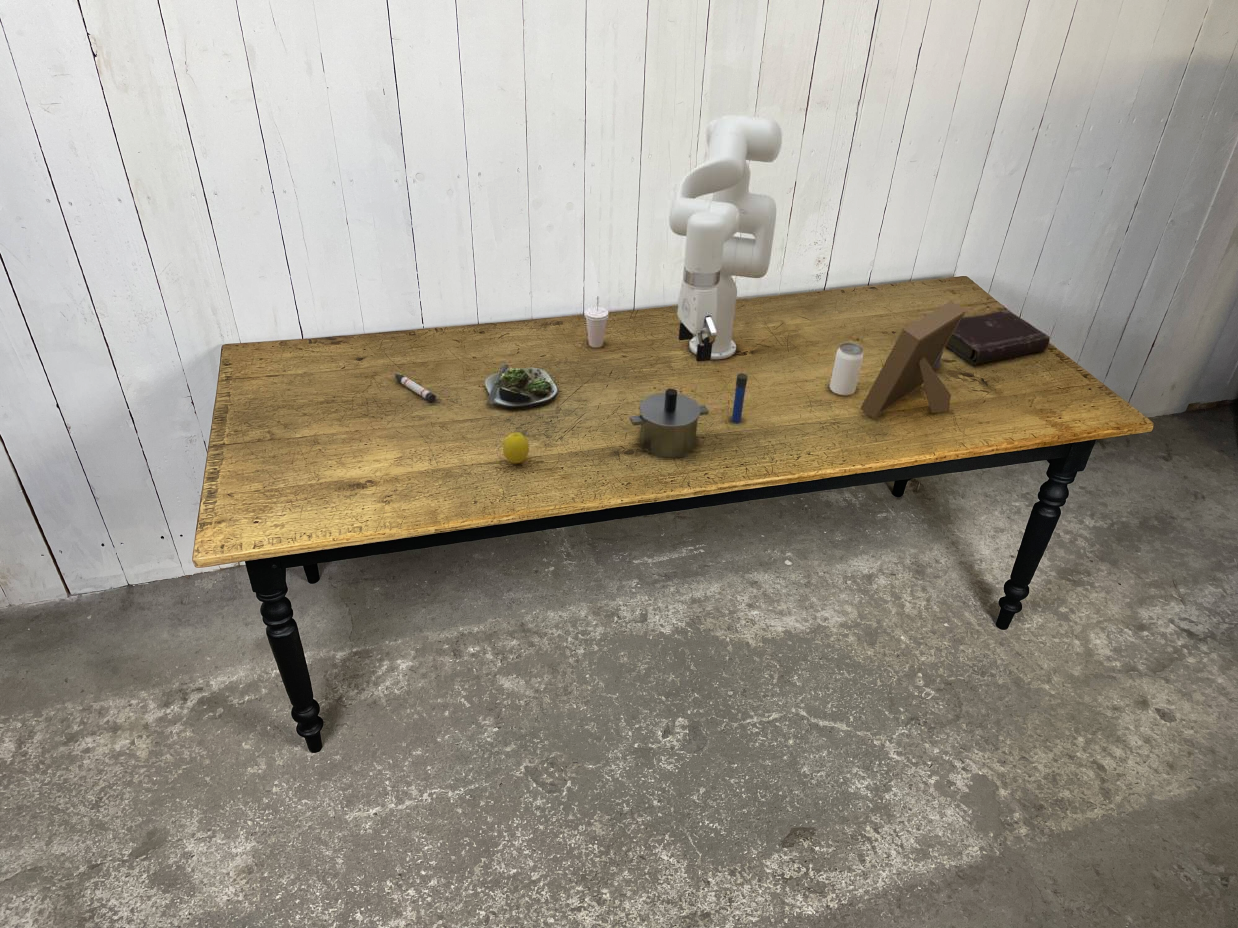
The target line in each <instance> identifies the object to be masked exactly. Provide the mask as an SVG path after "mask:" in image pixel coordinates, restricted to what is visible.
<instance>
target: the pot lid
mask: <svg viewBox="0 0 1238 928" xmlns="http://www.w3.org/2000/svg"><path fill="white" fill-rule="evenodd" d="M699 406H700V404H699V403H698V402H697V401H696V400H695V399H693V398H691V397H689V396H687V395H684V394H682V393H678V390H677V389H675V388H666V390H665V392H657V393H654V394H650V395H648V396H647V397H645V398H644V399H643V400H642V401H641V402H640V404H639V414H640V415H642V417H643V418H644V419H645V420H646V421H648V422H650V423H652V424H654V425H657V426H660V427H666V428H680V427H685V426H688V425H691V424H693V423H694V422H696V421H697V420H699V418H700V407H699ZM697 422H698V421H697Z"/></svg>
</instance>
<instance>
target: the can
mask: <svg viewBox="0 0 1238 928" xmlns="http://www.w3.org/2000/svg"><path fill="white" fill-rule="evenodd" d="M863 351H864V349H863V347H862V346H861V345H859V344H858V343H854V342H843V343H841V344H840V345H839V347H838V349H837V351H836V354H835V359H834V364H833V368H832V373H831V377H830V378H831V379H830V383H829V389H830V391H831V392H832V393H833V394H835V395H838V396H842V397H849V396H851V395H854V393H855V392H856V390H857V385H858V382H859V378H860V374H861V368H862V365H863V360H864V352H863Z"/></svg>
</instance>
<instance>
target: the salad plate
mask: <svg viewBox="0 0 1238 928" xmlns="http://www.w3.org/2000/svg"><path fill="white" fill-rule="evenodd" d="M484 384H485V388H486V390H487V392H488V396H487V399H486V400H487V401H486V402H487V403H488V404H490V405H496V406H498V407H500V408H502V409H504V410H509V411H520V410H529V409H536V408H540V407H542V406H546V405H548V404H550V403H551V402H552V401H553V400H554V399H555V398H556V397H557V395H558V387H557V385H556V384H555V382H554V381H553V379H552V378H551V376H550V375H549V373H548V372H547V371H545V370H544V369H541V368H537V367H525V368H513V367H512V366H511V367H510V366H509V364H507V363H504V364H502V365H501V366H500V370H499V371H498V372H497V373H494V374H491V375H489V376H488V378H486V379H485V382H484Z"/></svg>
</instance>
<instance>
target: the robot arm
mask: <svg viewBox="0 0 1238 928" xmlns="http://www.w3.org/2000/svg"><path fill="white" fill-rule="evenodd" d="M705 138H706V145H707V151H706V155H705V159H704V162H703V163H701V164H698V166H696V167H694V168H693V169H691V170H690V171H688V173H686V175H684V176H683V177H682V178H681V180H679V182H678V184H677V186H676V189H675V191H674V194H673V198H672V202H671V205H670V210H669V216H668V224H669V228H670V230H671V231H672V233H674V234H675V235H677V236H681V237H685V248H684V250H685V251H684V259H683V269H682V270H683V272H682V280H681V284H680V290H679V296H678V303H677V312H676V313H677V317H678V319H679V327H678V340H679V341H687V340H688V341H689V345H688V346H689V350H690V352H691V353H693V354H694V355H695V361H696V362H697V363H702V362H708V361H711V360H723V359H728V358H730V357H733V355H735V353H736V352H737V351H736V350H737V345H736V342H735V341H734V340H733V338H732V337H733V330H734V329H733V328H734V322H735V321H734V320H735V313H736V305H737V299H738V298H737V297H738V289H737V288H738V287H737V284H736V282H735V280H734V276H735V277H743V278H748V279H750V278H751V279H761V278H763V277H765V276H766V275H767V273H768V271H769V267H770V263H771V258H772V250H773V243H774V237H775V236H774V235H775V229H776V221H777V203H776V201H775V199H774V198H773V197H772V196H770V195H767V194H761V193H752V192H750V189H749V188H750V183H751V182H750V181H751V175H752V174H751V169H750V166H749V164H748V162H747V161H752V162H761V163H773V162H774V161H775V160H777V159H778V157H779V154H780V152H781V149H782V143H783V132H782V128H781V126H780V124H779V123H778V121H776V120H775V119H773V118H770V117H763V116H753V115H741V114H726V115H723V116H721V117H720V118H716V119H712V120H711V121H710V122H708V124H707V125H706V132H705ZM710 194H712V199H711V200H708V199H700V198H699V197H702V196H705V195H710ZM737 233H738V234H739V233H740V234H749V235H752V236H753V237H754V238H749V237H743V236H742V237H741V236H736V234H737ZM694 335H695V336H694Z"/></svg>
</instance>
